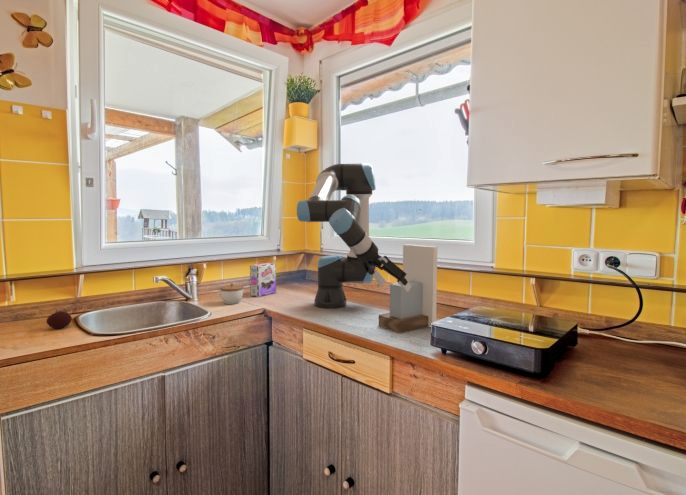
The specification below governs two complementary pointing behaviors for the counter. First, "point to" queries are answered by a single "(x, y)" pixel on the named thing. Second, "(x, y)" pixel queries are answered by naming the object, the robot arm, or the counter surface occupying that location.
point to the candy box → (262, 279)
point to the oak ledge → (403, 322)
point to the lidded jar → (231, 293)
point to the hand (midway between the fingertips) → (395, 286)
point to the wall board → (423, 274)
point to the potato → (59, 319)
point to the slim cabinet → (406, 300)
